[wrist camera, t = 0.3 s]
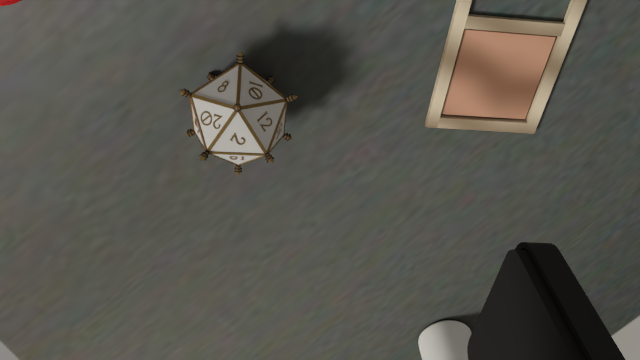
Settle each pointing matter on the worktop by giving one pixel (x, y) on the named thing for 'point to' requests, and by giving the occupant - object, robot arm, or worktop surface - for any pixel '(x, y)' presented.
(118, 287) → the worktop surface
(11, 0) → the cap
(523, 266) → the robot arm
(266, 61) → the worktop surface
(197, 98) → the game die
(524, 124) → the game track
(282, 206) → the worktop surface
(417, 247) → the worktop surface
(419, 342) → the can
